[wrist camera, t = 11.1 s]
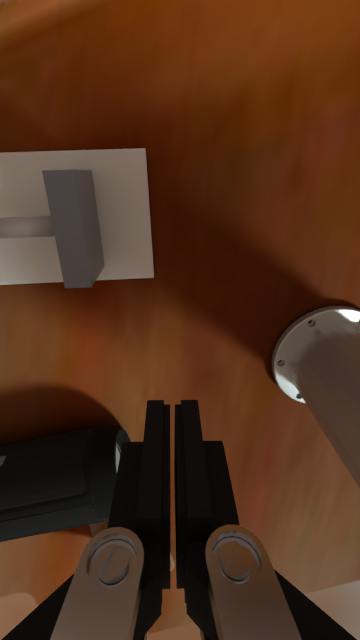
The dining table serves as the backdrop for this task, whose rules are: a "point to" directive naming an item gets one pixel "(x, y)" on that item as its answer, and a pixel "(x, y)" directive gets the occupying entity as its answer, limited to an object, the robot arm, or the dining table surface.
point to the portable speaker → (58, 481)
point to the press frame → (112, 207)
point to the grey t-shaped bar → (66, 225)
